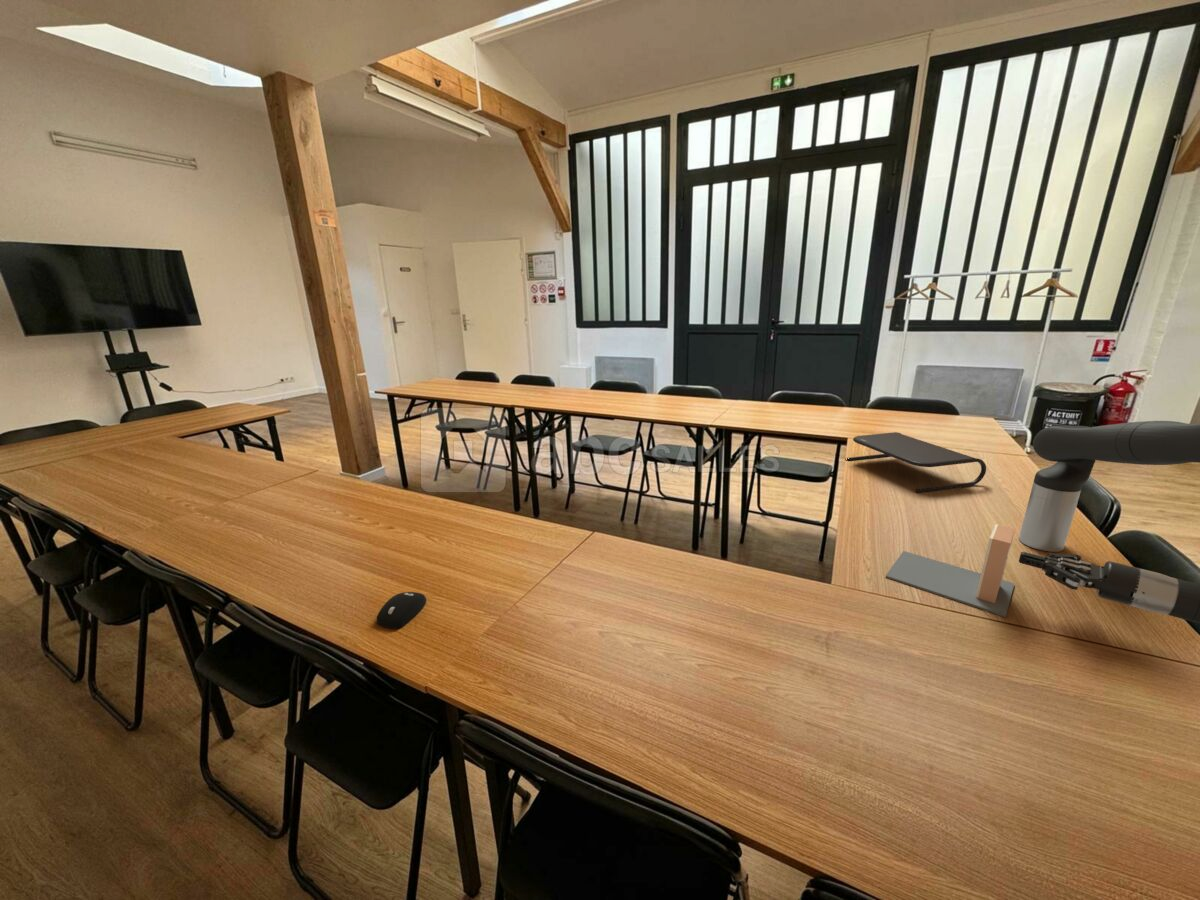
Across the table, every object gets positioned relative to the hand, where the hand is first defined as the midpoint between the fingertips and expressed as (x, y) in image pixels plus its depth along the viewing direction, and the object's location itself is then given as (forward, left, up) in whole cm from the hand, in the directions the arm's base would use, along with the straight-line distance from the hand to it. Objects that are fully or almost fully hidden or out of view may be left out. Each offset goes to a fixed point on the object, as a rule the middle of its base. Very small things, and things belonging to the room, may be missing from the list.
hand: (1019, 556), depth 104 cm
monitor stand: (-77, -37, -12) cm, 87 cm away
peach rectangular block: (0, -4, -11) cm, 11 cm away
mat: (0, -11, -11) cm, 16 cm away
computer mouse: (+96, -99, -12) cm, 138 cm away
